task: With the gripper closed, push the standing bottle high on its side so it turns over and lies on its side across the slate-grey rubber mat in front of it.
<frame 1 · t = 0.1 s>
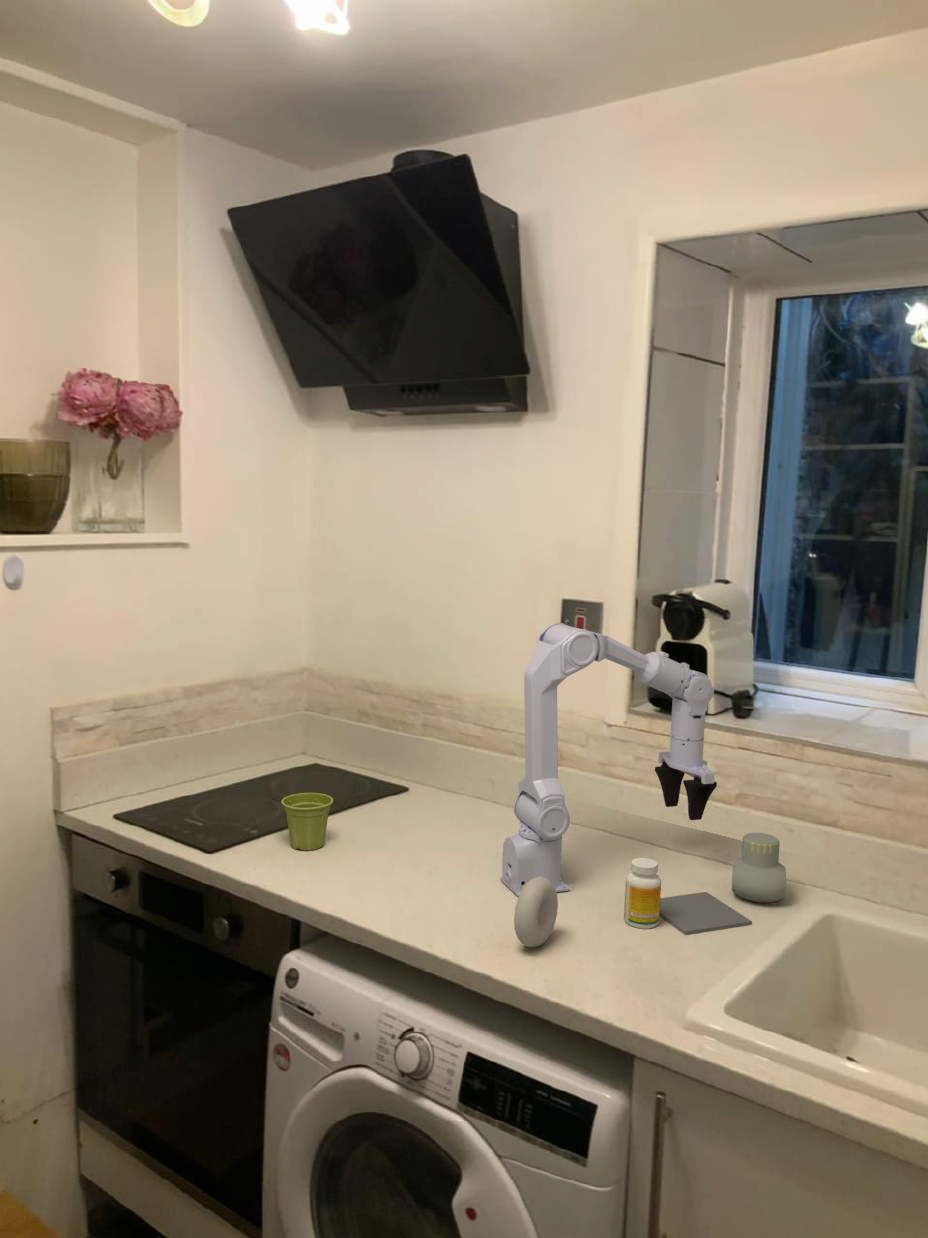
hand: (683, 812, 172), 10 cm above the worktop, tool pointing down, fingers open, 7 cm apart
supplement bottle: (641, 923, 150), on the worktop
air freshener: (757, 897, 161), on the worktop
mat: (696, 913, 153), on the worktop
plant pot: (307, 846, 179), on the worktop
donut: (535, 946, 141), on the worktop
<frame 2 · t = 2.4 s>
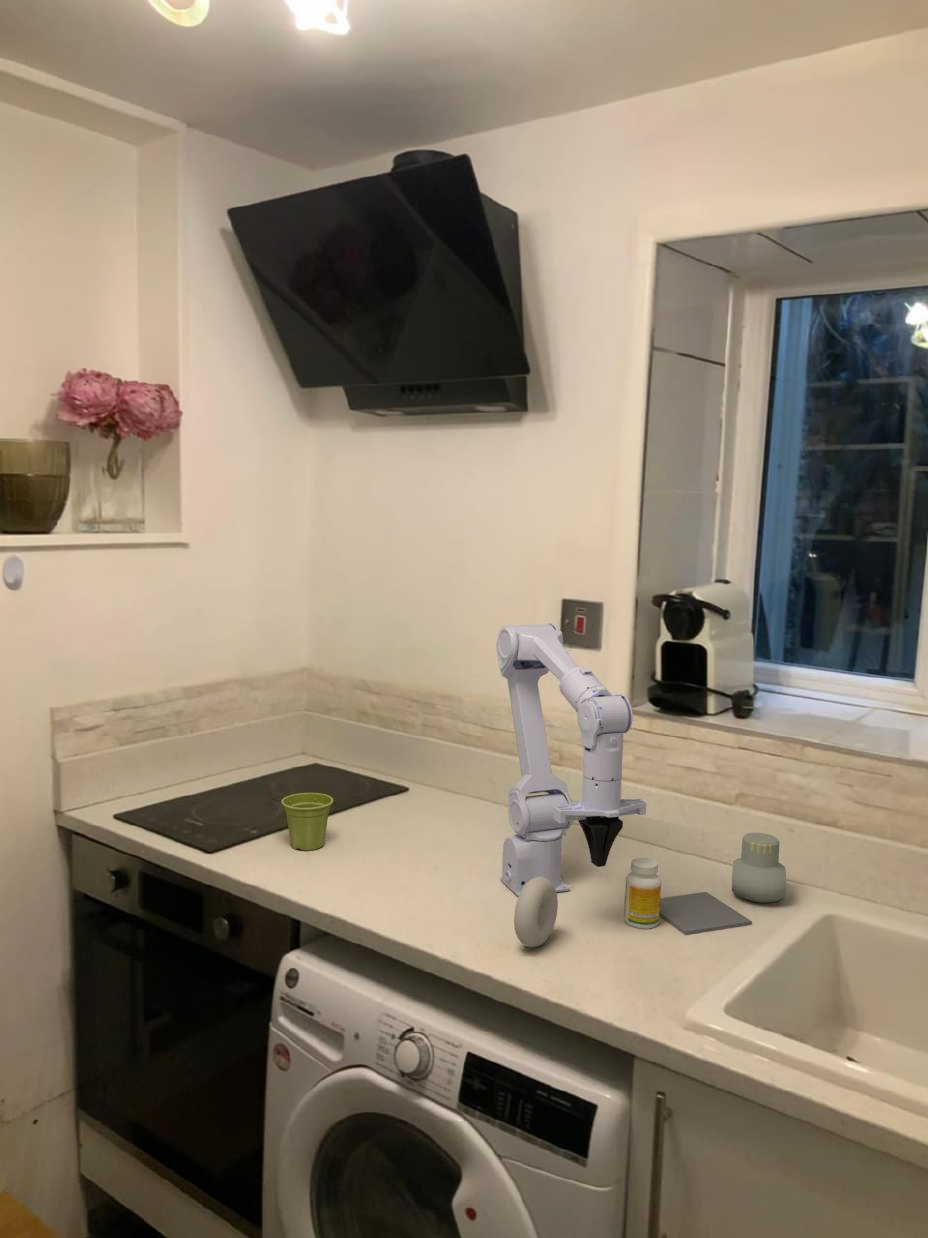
hand: (598, 864, 146), 10 cm above the worktop, tool pointing down, fingers closed
nothing on the worktop moved.
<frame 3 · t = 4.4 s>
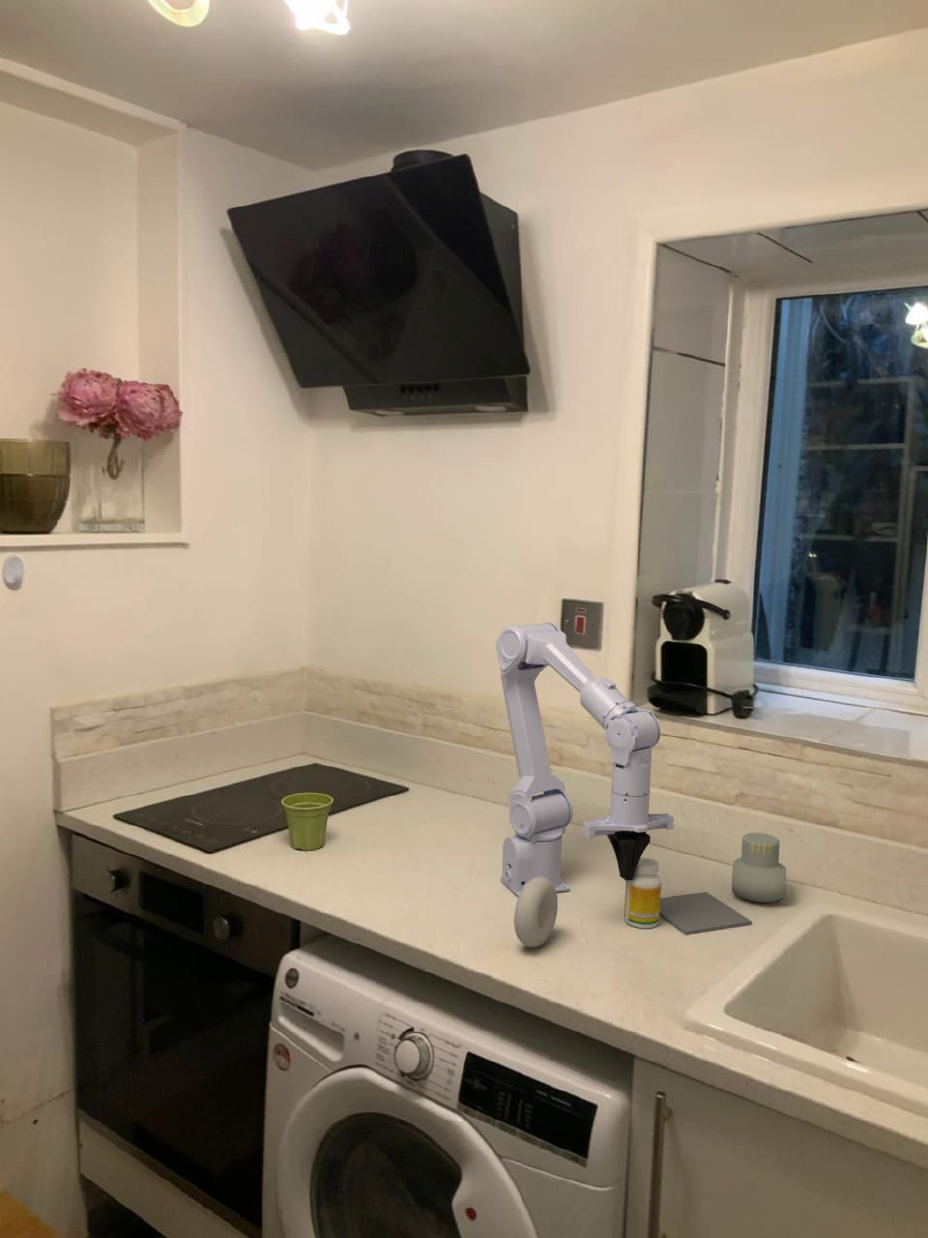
hand: (626, 878, 148), 7 cm above the worktop, tool pointing down, fingers closed, pressing on supplement bottle
supplement bottle: (641, 923, 150), on the worktop, touching gripper
everything else where it was.
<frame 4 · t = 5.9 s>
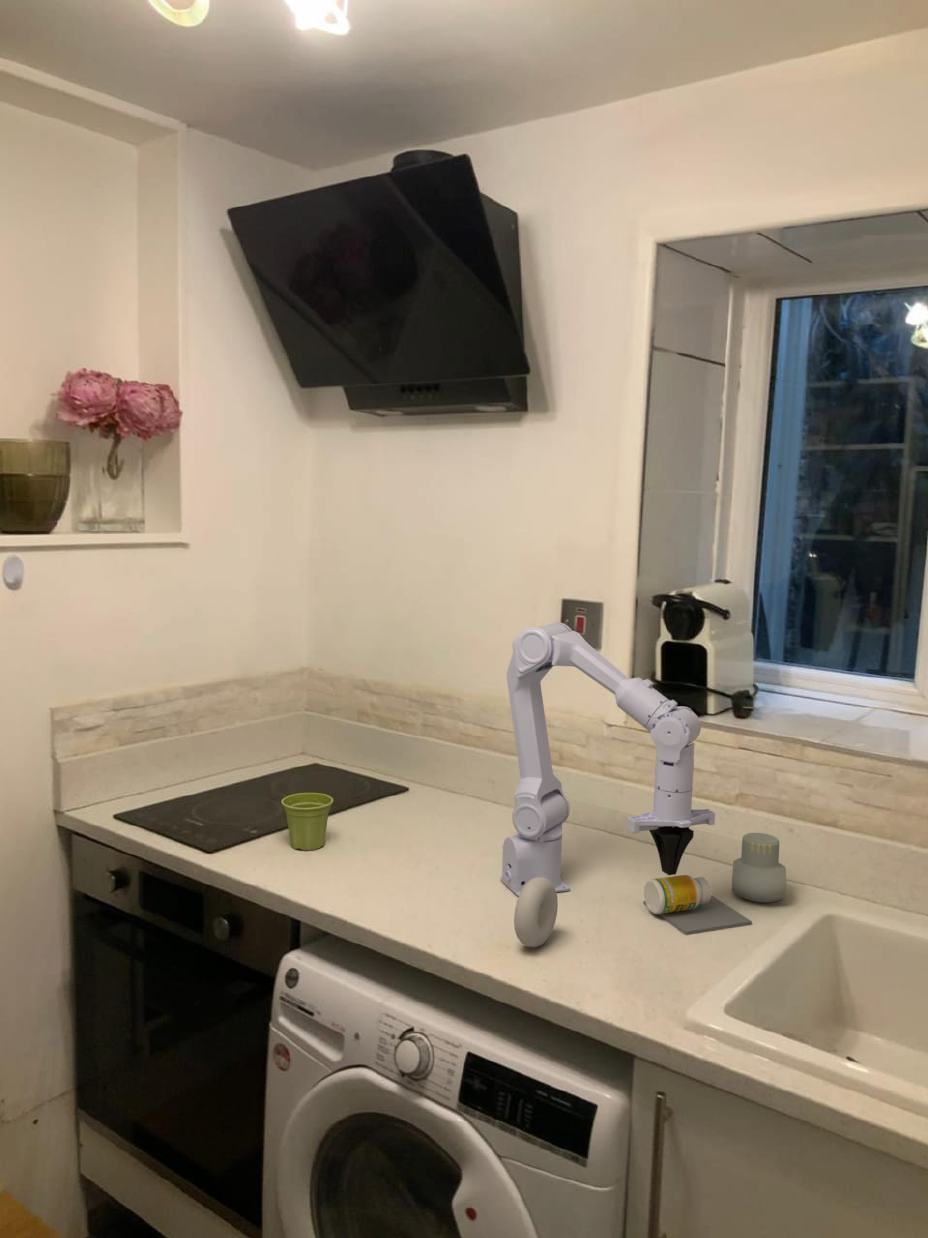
hand: (668, 872, 150), 7 cm above the worktop, tool pointing down, fingers closed
supplement bottle: (650, 897, 151), point 3 cm above the worktop, touching mat
everything else where it was.
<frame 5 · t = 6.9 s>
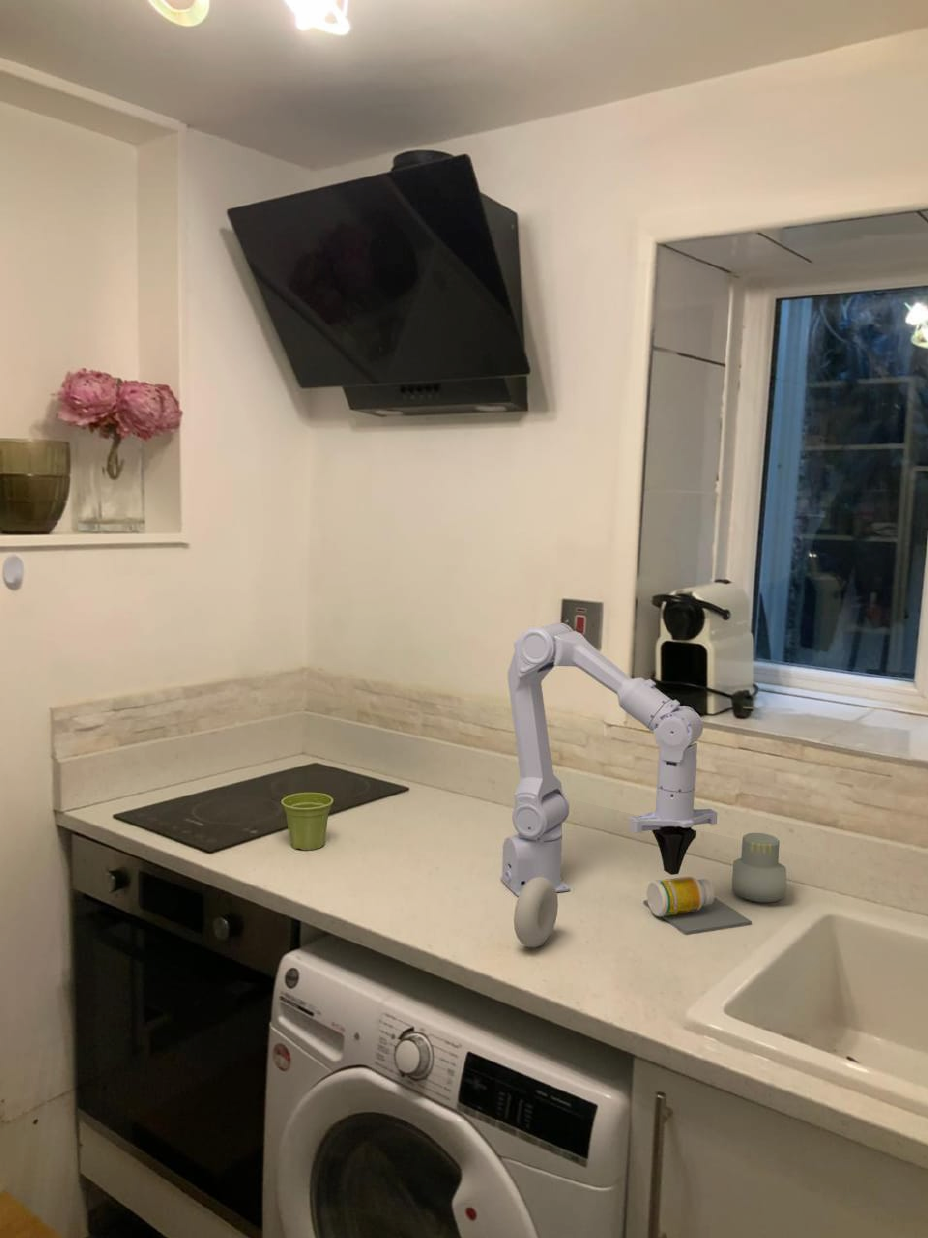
hand: (671, 872, 151), 7 cm above the worktop, tool pointing down, fingers closed
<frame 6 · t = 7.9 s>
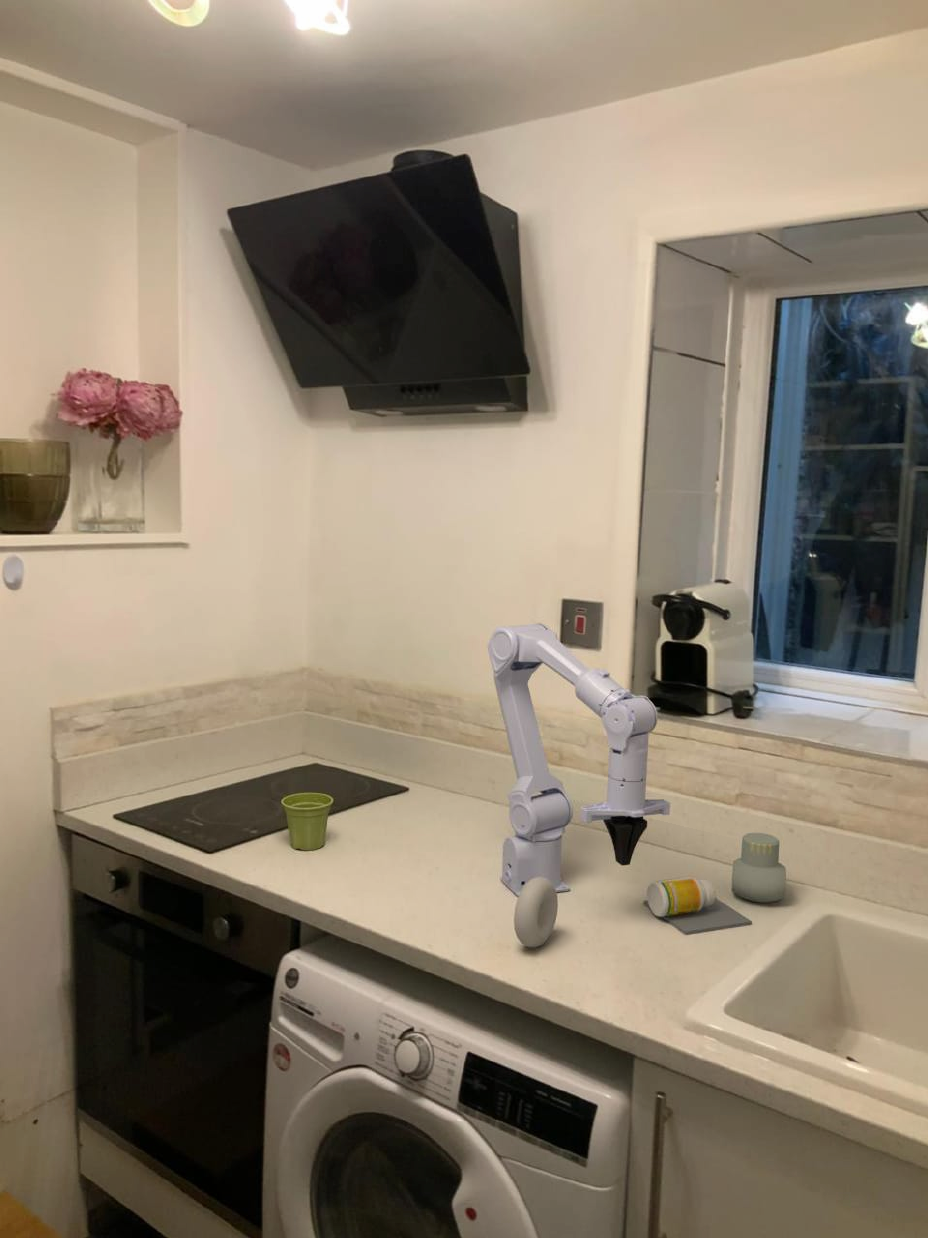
hand: (622, 863, 149), 9 cm above the worktop, tool pointing down, fingers closed
nothing on the worktop moved.
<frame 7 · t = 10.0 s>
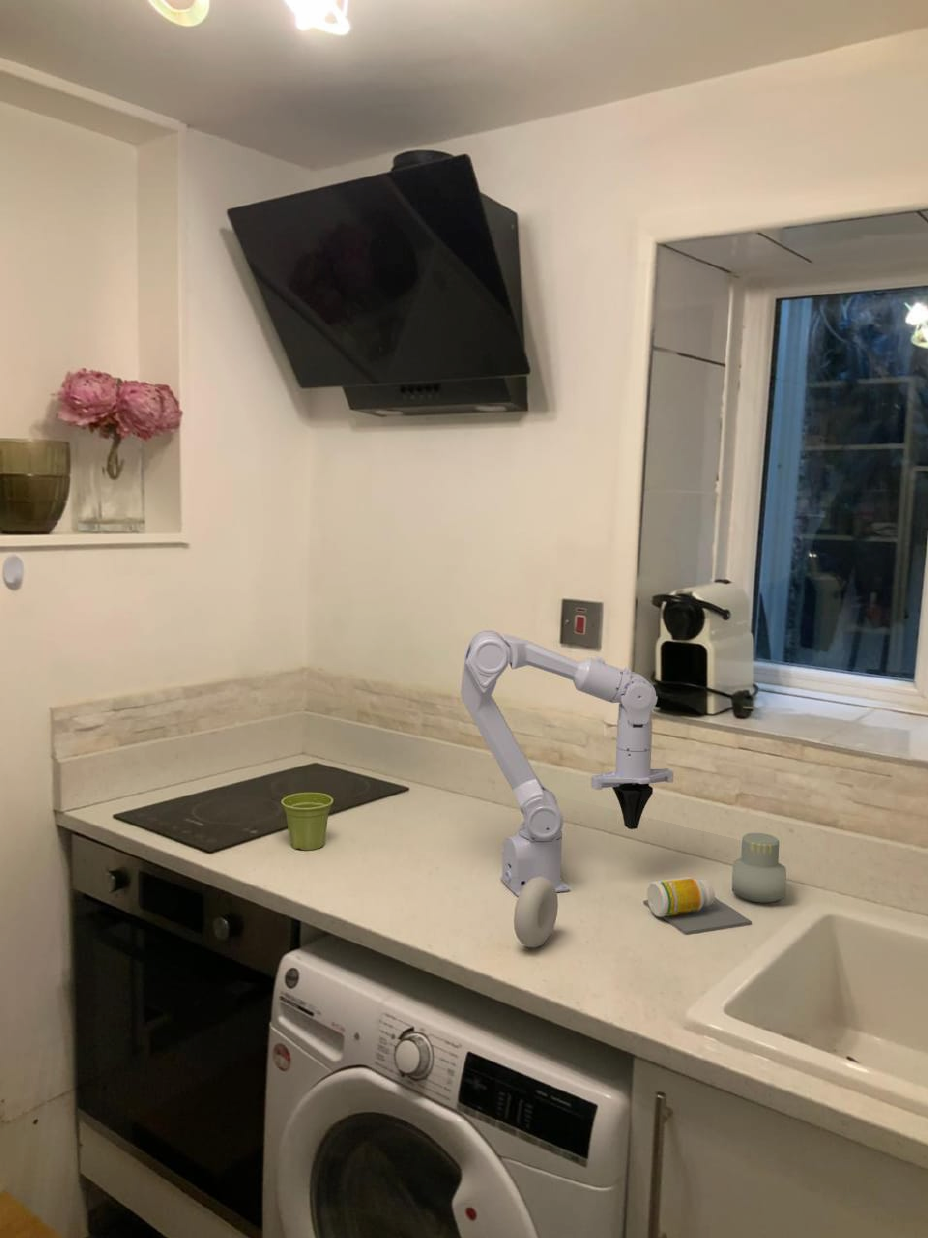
hand: (630, 827, 162), 10 cm above the worktop, tool pointing down, fingers closed
nothing on the worktop moved.
at the end: supplement bottle tilted 90°; supplement bottle inside the target area (5.7 cm from its centre), point 3.2 cm above the worktop; the gripper is holding nothing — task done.
